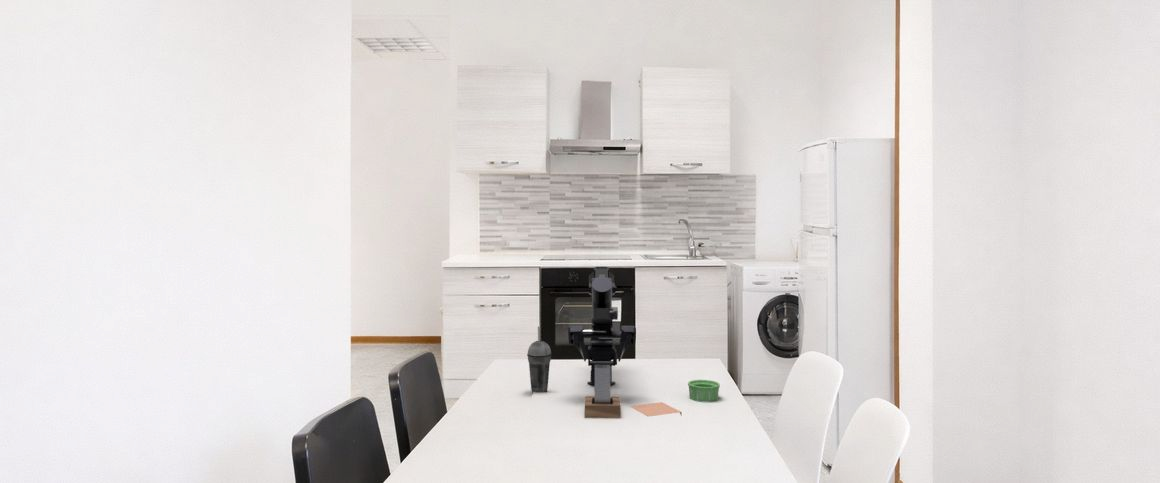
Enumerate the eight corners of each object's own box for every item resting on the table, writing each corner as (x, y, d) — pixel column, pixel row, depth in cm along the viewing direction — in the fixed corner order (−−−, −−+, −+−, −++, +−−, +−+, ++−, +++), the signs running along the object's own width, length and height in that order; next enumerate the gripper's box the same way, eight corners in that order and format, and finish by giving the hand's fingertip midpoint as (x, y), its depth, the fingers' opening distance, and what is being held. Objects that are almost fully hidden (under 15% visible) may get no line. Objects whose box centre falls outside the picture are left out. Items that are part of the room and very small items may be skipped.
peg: (594, 410, 163) (594, 364, 163) (609, 410, 163) (610, 364, 163) (594, 414, 159) (594, 367, 159) (610, 414, 159) (610, 368, 159)
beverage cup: (553, 390, 187) (553, 324, 187) (549, 397, 180) (549, 328, 180) (529, 390, 188) (529, 323, 188) (524, 396, 181) (524, 327, 180)
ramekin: (684, 400, 177) (684, 385, 177) (691, 393, 185) (691, 378, 185) (716, 404, 173) (716, 388, 173) (722, 396, 182) (722, 381, 182)
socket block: (585, 411, 166) (585, 396, 166) (619, 411, 166) (619, 396, 166) (584, 421, 157) (584, 405, 157) (620, 421, 157) (620, 406, 157)
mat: (629, 409, 167) (629, 406, 167) (661, 405, 171) (661, 402, 171) (647, 420, 158) (647, 416, 158) (681, 415, 162) (681, 411, 162)
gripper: (568, 296, 174) (566, 343, 163) (635, 296, 173) (638, 343, 162) (569, 320, 182) (568, 366, 171) (634, 321, 181) (636, 367, 170)
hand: (602, 360), depth 168 cm, fingers open, 9 cm apart
